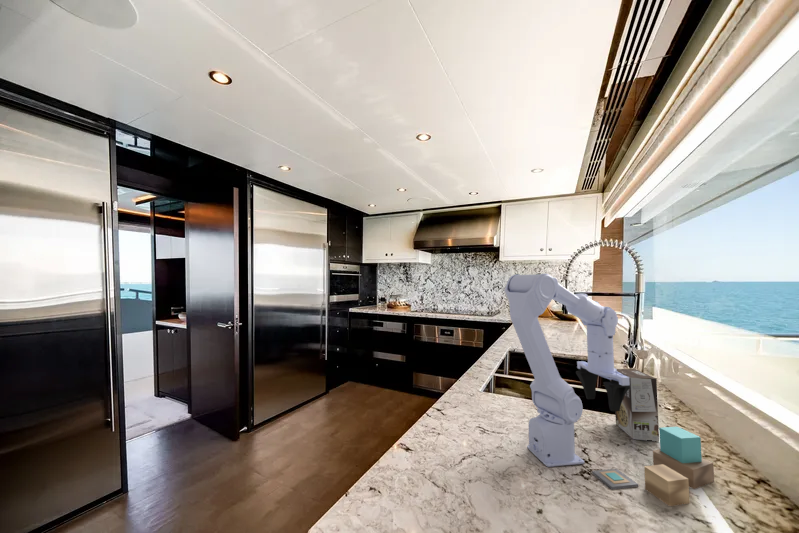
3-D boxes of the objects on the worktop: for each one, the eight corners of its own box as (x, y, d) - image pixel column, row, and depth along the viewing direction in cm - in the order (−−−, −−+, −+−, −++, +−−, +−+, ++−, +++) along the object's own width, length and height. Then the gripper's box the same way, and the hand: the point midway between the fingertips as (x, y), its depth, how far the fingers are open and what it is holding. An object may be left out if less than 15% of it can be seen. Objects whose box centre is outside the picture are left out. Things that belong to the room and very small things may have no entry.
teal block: (701, 461, 61) (700, 437, 61) (682, 463, 61) (681, 438, 61) (678, 449, 66) (677, 426, 66) (660, 450, 65) (659, 427, 65)
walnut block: (694, 490, 58) (693, 469, 58) (653, 469, 65) (652, 450, 65) (714, 482, 61) (713, 462, 61) (673, 463, 67) (672, 445, 67)
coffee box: (660, 442, 75) (658, 378, 76) (632, 439, 77) (630, 377, 78) (639, 425, 84) (637, 368, 85) (614, 423, 86) (612, 367, 87)
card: (612, 489, 58) (611, 485, 58) (592, 473, 63) (592, 469, 63) (638, 486, 59) (638, 482, 59) (616, 470, 64) (616, 467, 64)
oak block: (669, 506, 54) (668, 481, 54) (645, 489, 58) (644, 466, 58) (689, 503, 55) (688, 478, 55) (664, 487, 59) (663, 464, 59)
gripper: (639, 358, 70) (642, 415, 70) (592, 345, 85) (593, 393, 84) (613, 359, 69) (616, 417, 69) (569, 346, 84) (571, 394, 83)
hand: (602, 404), depth 76 cm, fingers open, 7 cm apart
